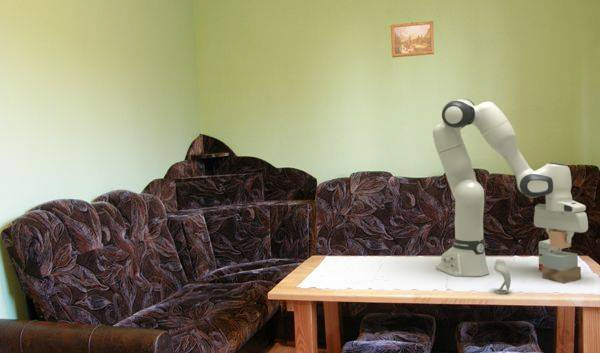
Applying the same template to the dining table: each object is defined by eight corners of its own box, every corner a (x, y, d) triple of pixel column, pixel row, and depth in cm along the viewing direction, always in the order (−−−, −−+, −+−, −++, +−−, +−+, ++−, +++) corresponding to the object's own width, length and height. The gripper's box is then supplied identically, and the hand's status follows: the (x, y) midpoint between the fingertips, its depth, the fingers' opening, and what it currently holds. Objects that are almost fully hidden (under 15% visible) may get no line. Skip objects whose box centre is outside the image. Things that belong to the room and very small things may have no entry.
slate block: (542, 266, 187) (542, 253, 186) (558, 263, 190) (558, 250, 190) (561, 270, 179) (561, 257, 179) (577, 267, 183) (577, 254, 183)
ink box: (549, 272, 195) (548, 243, 194) (538, 270, 199) (537, 241, 198) (562, 268, 199) (561, 240, 198) (551, 266, 203) (550, 238, 203)
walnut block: (542, 279, 187) (541, 266, 187) (559, 275, 191) (558, 262, 191) (563, 284, 179) (563, 271, 179) (580, 279, 183) (580, 266, 183)
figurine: (512, 295, 168) (511, 261, 168) (496, 295, 170) (495, 261, 169) (509, 289, 176) (508, 256, 175) (493, 288, 177) (492, 256, 176)
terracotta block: (550, 246, 186) (549, 231, 185) (558, 244, 188) (558, 229, 187) (562, 248, 181) (561, 232, 181) (570, 246, 183) (570, 231, 183)
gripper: (529, 204, 191) (530, 238, 192) (579, 208, 173) (580, 246, 174) (540, 202, 194) (541, 236, 195) (590, 206, 176) (591, 243, 177)
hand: (560, 241), depth 184 cm, fingers closed on terracotta block, 5 cm apart
